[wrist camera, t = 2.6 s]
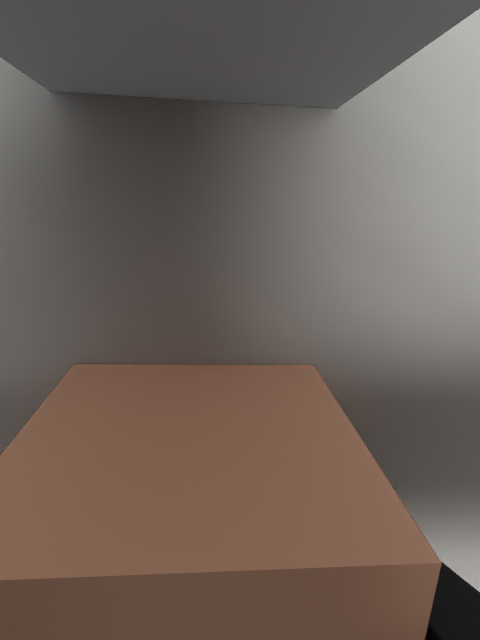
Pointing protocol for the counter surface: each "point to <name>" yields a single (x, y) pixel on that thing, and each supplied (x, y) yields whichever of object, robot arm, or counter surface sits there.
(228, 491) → the terracotta cube
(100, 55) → the slate cube
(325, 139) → the counter surface
